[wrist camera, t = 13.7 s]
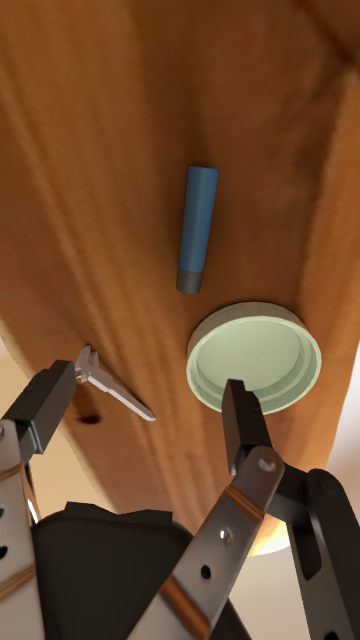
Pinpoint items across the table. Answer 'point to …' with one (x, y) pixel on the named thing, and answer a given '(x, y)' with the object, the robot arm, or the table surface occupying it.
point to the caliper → (106, 382)
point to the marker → (196, 227)
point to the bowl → (253, 355)
